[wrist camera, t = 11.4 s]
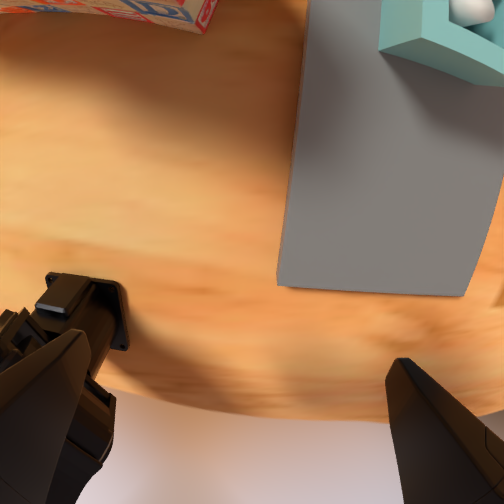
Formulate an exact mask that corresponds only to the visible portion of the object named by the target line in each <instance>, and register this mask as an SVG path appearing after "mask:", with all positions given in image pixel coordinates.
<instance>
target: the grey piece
mask: <svg viewBox="0 0 504 504" xmlns="http://www.w3.org/2000/svg"><path fill="white" fill-rule="evenodd" d="M381 5H382V0H307V12H306V23H305V35H304V45H303V56H302V66H301V76H300V86H299V95H298V104H297V114H296V123H295V131H294V140H293V149H292V157H291V165H290V174H289V182H288V190H287V198H286V205H285V213H284V221H283V228H282V236H281V243H280V250H279V258H278V265H277V272H276V275H277V286H289V287H302V288H316V289H330V290H345V291H361V292H379V293H397V294H417V295H440V296H464V294H465V292H466V290H467V287H468V285H469V282H470V280H471V277H472V275H473V272H474V270H475V267H476V265H477V262H478V259H479V256H480V254H481V251H482V248H483V245H484V242H485V239H486V236H487V233H488V230H489V227H490V224H491V220H492V217H493V214H494V210H495V207H496V203H497V199H498V195H499V192H500V188H501V184H502V179H503V175H504V87H498V86H485V85H474V84H472V83H470V82H467V81H465V80H463V79H460V78H458V77H455V76H453V75H450V74H448V73H445V72H443V71H440V70H437V69H434V68H432V67H429V66H426V65H423V64H420V63H417V62H414V61H411V60H408V59H405V58H402V57H398V56H395V55H391V54H388V53H384V52H381V51H378V47H379V35H380V21H381ZM494 14H495V9H494V5H493V2H492V0H449V21H450V22H452V23H454V24H456V25H458V26H461V27H465V26H470V25H475V24H480V23H485V22H489V21H491V20H492V19H493V18H494Z"/></svg>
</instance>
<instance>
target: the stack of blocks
mask: <svg viewBox="0 0 504 504" xmlns="http://www.w3.org/2000/svg"><path fill="white" fill-rule="evenodd" d="M218 2H219V0H0V14H2V13H28V12H39V11H46V12H78V13H91V14H102V15H110V16H112V17H118V18H125V19H132V20H138V21H144V22H150V23H155V24H158V25H163V26H167V27H172V28H176V29H181V30H185V31H189V32H193V33H197V34H205V32H206V29H207V27H208V25H209V22H210V20H211V18H212V15H213V13H214V11H215V9H216V6H217V4H218Z"/></svg>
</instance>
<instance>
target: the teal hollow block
mask: <svg viewBox="0 0 504 504" xmlns="http://www.w3.org/2000/svg"><path fill="white" fill-rule="evenodd" d="M492 2H493V5H494V9H495V14H494V18H493V19H492V20H491V21H489V22H485V23H480V24H475V25H470V26H465V27H461V26H458V25H456V24H454V23H452V22H450V21H449V0H382V5H381V21H380V35H379V47H378V51H381V52H384V53H388V54H391V55H395V56H398V57H402V58H405V59H408V60H411V61H414V62H417V63H420V64H423V65H426V66H429V67H432V68H434V69H437V70H440V71H443V72H445V73H448V74H450V75H453V76H455V77H458V78H460V79H463V80H465V81H467V82H470V83H472V84H474V85H485V86H498V87H504V0H492Z"/></svg>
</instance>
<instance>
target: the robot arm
mask: <svg viewBox="0 0 504 504" xmlns="http://www.w3.org/2000/svg"><path fill="white" fill-rule="evenodd" d="M45 280H46V284H47V288H48V289H47V290H46V292H45V293H44V294H43V295H42V296H41V297H40V299H39V300H38V301H37V302H36V303H35V308H36V309H35V310H34V311H33V312H32V314H31V315H29V314H30V313H29V312H28V310H27V309H26V308H25V307H24V308H23V309H22V310H21V311H20V312H19V313H17V312H12V311H10V310H7V309H6V310H5V311H4V312H3V313H2V314H1V315H0V504H75V503H76V501H77V499H78V497H79V495H80V493H81V492H82V490H83V488H84V487H85V485H86V484H87V482H88V481H89V480H90V479H91V477H92V476H93V475H94V474H96V472H98V471H99V470H100V469H101V468H102V466H103V463H104V461H105V460H106V458H107V457H108V455H109V453H110V451H111V448H112V445H113V437H114V422H115V409H116V397H115V396H113V395H112V394H111V393H108V392H107V391H106V390H105V389H103V388H102V387H101V386H100V385H99V384H98V383H97V382H95V381H94V380H95V378H96V376H97V373H98V371H99V369H100V367H101V365H102V363H103V361H104V359H105V357H106V355H107V353H108V351H109V349H110V348H111V349H116V350H121V351H127V350H128V348H129V346H130V344H129V339H128V334H127V328H126V323H125V317H124V312H123V306H122V299H121V293H120V287H119V285H118V283H117V282H115V281H111V280H104V279H96V278H90V277H87V276H80V275H72V274H65V273H62V274H61V273H54V272H49V273H48V274H47V275H46V277H45ZM111 287H113V288H114V289H112V288H111ZM122 344H123V345H122ZM385 386H386V394H387V403H388V412H389V422H390V429H391V434H392V439H393V443H394V449H395V454H396V459H397V464H398V470H399V475H400V481H401V487H402V493H403V500H404V504H504V441H503V440H501V439H500V438H499V437H498V436H497V435H496V434H494V433H493V432H492V431H491V430H490V429H489V428H488V427H487V426H485V425H484V424H483V423H482V422H481V421H480V420H479V419H478V418H477V417H476V416H474V415H473V414H472V413H471V412H470V411H469V410H468V409H467V408H466V407H464V406H463V405H462V404H461V403H460V402H459V401H458V400H457V399H455V398H454V397H453V396H452V395H451V394H450V393H449V392H448V391H446V390H445V389H444V388H443V387H442V386H441V385H440V384H438V383H437V382H436V381H435V380H434V379H433V378H432V377H430V376H429V375H428V374H427V373H426V372H425V371H424V370H422V369H421V368H420V367H419V366H418V365H417V364H416V363H414V362H413V361H412V360H411V359H410V358H396V359H395V360H394V362H393V364H392V366H391V368H390V370H389V372H388V374H387V376H386V379H385Z"/></svg>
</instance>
